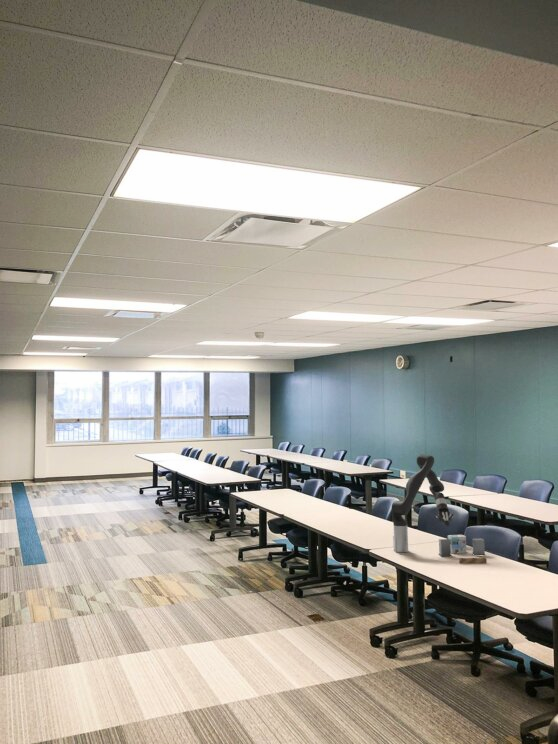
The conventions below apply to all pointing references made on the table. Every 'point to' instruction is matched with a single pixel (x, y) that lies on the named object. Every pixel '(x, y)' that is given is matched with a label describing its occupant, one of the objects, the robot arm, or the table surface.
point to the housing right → (478, 547)
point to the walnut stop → (472, 560)
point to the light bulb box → (457, 543)
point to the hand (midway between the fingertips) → (447, 526)
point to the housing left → (444, 548)
